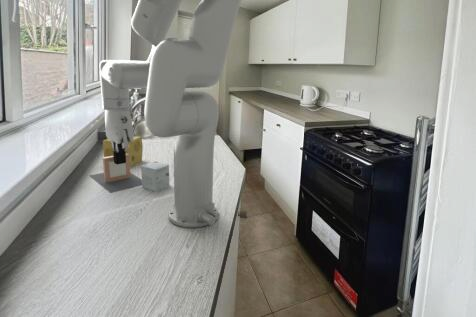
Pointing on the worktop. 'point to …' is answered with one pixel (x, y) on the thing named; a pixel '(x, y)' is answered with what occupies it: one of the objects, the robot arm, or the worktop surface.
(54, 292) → the worktop surface
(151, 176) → the skincare box
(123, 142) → the robot arm
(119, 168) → the tile
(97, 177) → the mat
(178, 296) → the worktop surface
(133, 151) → the cheese
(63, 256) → the worktop surface
